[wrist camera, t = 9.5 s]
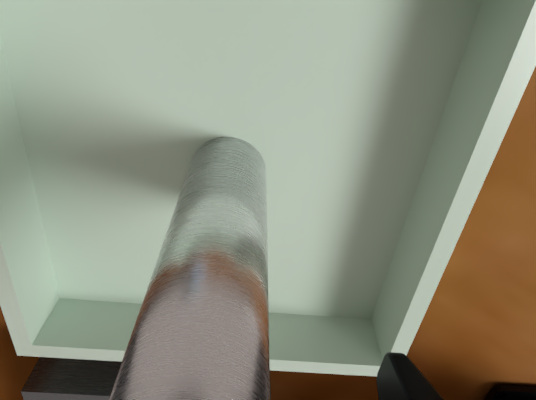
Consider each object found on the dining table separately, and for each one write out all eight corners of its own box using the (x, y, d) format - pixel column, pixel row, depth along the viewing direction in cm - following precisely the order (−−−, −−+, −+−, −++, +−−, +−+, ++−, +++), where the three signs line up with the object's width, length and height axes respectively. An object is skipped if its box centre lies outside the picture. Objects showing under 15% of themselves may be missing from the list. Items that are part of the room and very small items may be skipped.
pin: (270, 141, 16) (283, 463, 6) (262, 207, 18) (261, 549, 8) (190, 133, 16) (61, 453, 6) (189, 201, 18) (89, 543, 7)
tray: (515, -52, 13) (588, -53, 10) (379, 321, 23) (396, 377, 20) (-53, -128, 12) (-156, -155, 9) (51, 299, 21) (17, 355, 18)
